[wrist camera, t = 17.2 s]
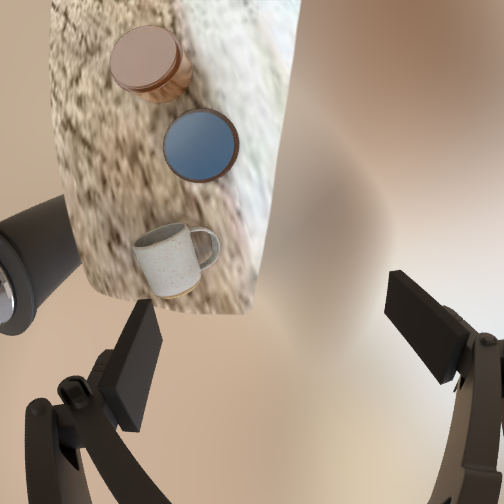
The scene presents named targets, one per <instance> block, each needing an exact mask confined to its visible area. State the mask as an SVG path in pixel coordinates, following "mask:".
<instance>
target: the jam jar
mask: <svg viewBox="0 0 504 504" xmlns="http://www.w3.org/2000/svg"><path fill="white" fill-rule="evenodd" d="M110 69H111V72H112V75H113V77H114V79H115V81H116V82H117V84H118V85H119V86H120V87H122V88H123V89H125V90H127V91H129V92H131V93H133V94H135V95H137V96H139V97H141V98H143V99H145V100H147V101H149V102H153V103H166V102H169V101H172V100H174V99H176V98H178V97H179V96H180V95H182V94H183V93H184V92H185V90H186V89H187V88H188V86H189V84H190V82H191V79H192V66H191V63H190V61H189V59H188V57H187V55H186V53H185V51H184V49H183V47H182V45H181V43H180V41H179V39H178V38H177V36H176V35H175V34H173V33H172V32H171V31H169V30H167V29H164V28H161V27H159V26H152V25H148V26H141V27H138V28H135V29H133V30H131V31H129V32H128V33H126V34H125V35H124V36H122V37H121V38H120V39H119V41H118V42H117V43H116V45H115V46H114V48H113V50H112V53H111V56H110Z"/></svg>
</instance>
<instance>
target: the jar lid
mask: <svg viewBox="0 0 504 504" xmlns="http://www.w3.org/2000/svg"><path fill="white" fill-rule="evenodd" d="M233 150H234V139H233V135H232V132H231V130H230V128H229V126H228V125H227V124H226V123H225V121H223V120H222V119H221V118H219V117H218V116H216V115H214V114H211V113H207V112H194V113H190V114H187V115H185V116H183V117H181V118H180V119H179V120H177V121H176V122H175V123H174V124H173V125H172V127H171V128H170V130H169V132H168V134H167V137H166V141H165V153H166V157H167V159H168V162H169V163H170V165H171V166H172V168H173V169H174V170H175V171H176V172H177V173H179V174H180V175H182V176H184V177H186V178H190V179H196V180H202V179H207V178H211V177H213V176H215V175H217V174H218V173H220V172H221V171H222V170H223V169H225V167H226V166H227V165H228V163H229V162H230V160H231V158H232V155H233Z"/></svg>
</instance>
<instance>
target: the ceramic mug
mask: <svg viewBox="0 0 504 504" xmlns="http://www.w3.org/2000/svg"><path fill="white" fill-rule="evenodd" d="M193 231H205V232H207V233H209V234H210V235H211V240H212V251H213V254H212V256H211V257H210V258H209V259H208V260H207V261H206V262H204V263H203V264H201V265H199V263H198V260H197V257H196V254H195V250H194V246H193V243H192V239H191V236H190V233H191V232H193ZM132 249H133V251H134V253H135V255H136V257H137V259H138V262H139V264H140V266H141V268H142V270H143V272H144V274H145V276H146V278H147V281H148V283H149V285H150V287H151V289H152V290H153V291H154V293H155V294H156V295H157V296H159V297H161V298H165V299H171V298H177V297H180V296H182V295H185V294H187V293H189V292H190V291H192V290H193V289H194V288H195V287H196V286H197V285H198V283H199V282H200V280H201V270H204V269H206V268H208V267H210V266H211V265H212V264H213V263H214V262H215V261H216V260H217V258H218V256H219V253H220V243H219V239H218V237H217V235H216V234H215V233H214V232H213V231H212V230H210V229H208V228H206V227H201V226H195V227H189V228H188V226H187V224H185V223H172V224H168V225H164V226H161V227H158V228H156V229H153V230H151V231H149V232H147V233H145V234H143V235H142V236H140V237H139V238H138V239H137V240H136V241H135V242H134V243H133V245H132Z"/></svg>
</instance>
